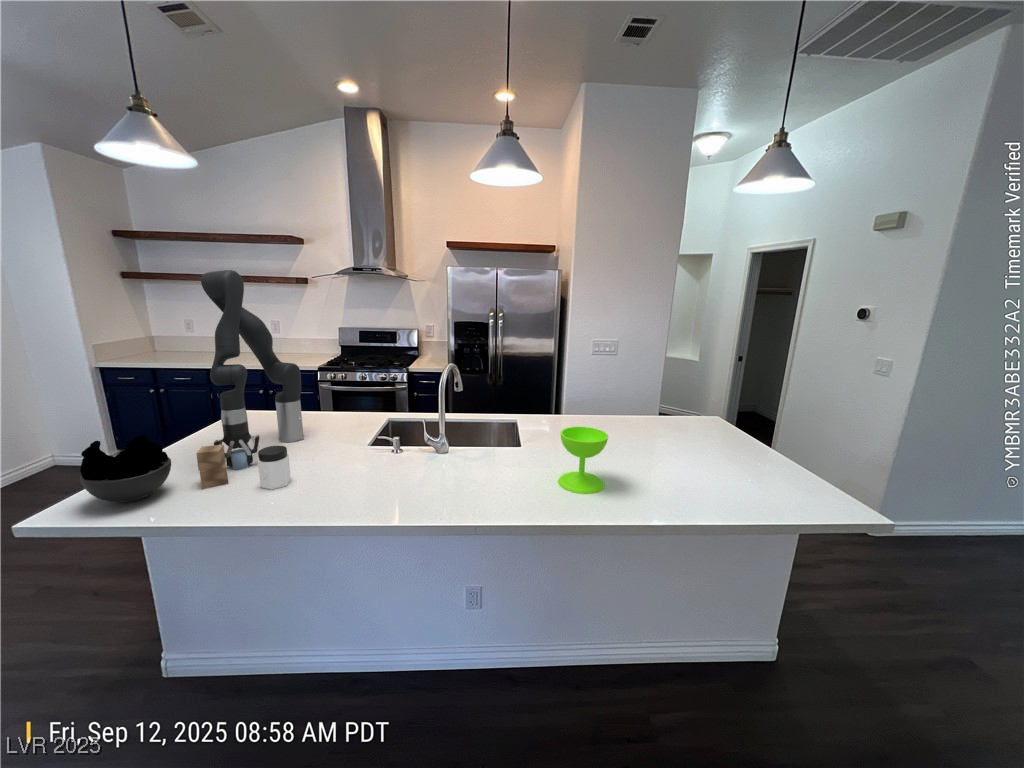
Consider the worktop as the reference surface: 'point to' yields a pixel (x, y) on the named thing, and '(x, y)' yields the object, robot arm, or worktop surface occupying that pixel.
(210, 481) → the tower base
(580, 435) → the wineglass
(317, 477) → the worktop surface
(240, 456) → the blue grey cylinder
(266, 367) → the robot arm
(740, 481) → the worktop surface
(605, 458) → the worktop surface
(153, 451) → the coal bowl
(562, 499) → the worktop surface
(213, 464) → the tower mid
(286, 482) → the jar
